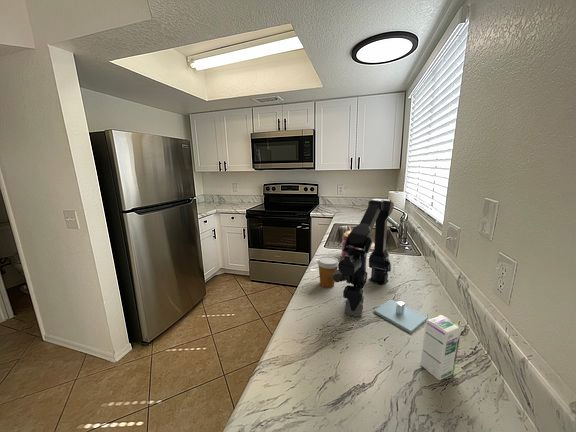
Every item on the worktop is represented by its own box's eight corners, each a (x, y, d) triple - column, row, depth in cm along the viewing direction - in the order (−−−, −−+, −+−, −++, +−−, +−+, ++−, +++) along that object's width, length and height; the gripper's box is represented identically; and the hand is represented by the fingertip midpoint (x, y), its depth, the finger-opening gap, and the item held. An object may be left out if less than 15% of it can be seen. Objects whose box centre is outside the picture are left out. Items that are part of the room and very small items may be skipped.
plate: (373, 312, 89) (373, 309, 89) (391, 301, 96) (391, 299, 96) (410, 333, 78) (411, 330, 78) (427, 319, 85) (428, 317, 85)
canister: (360, 264, 131) (362, 233, 127) (337, 259, 137) (339, 229, 133) (366, 256, 142) (368, 227, 137) (345, 252, 148) (346, 224, 144)
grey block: (344, 313, 89) (345, 301, 88) (347, 304, 94) (348, 293, 93) (361, 317, 86) (362, 305, 85) (363, 308, 92) (364, 296, 91)
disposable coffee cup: (339, 281, 112) (341, 257, 109) (334, 291, 103) (336, 266, 101) (320, 277, 116) (321, 254, 113) (313, 286, 107) (314, 262, 105)
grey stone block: (395, 312, 87) (396, 303, 87) (398, 310, 89) (400, 300, 88) (400, 315, 86) (401, 305, 85) (403, 312, 87) (405, 303, 87)
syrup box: (439, 381, 61) (448, 333, 58) (419, 364, 67) (426, 318, 63) (454, 373, 64) (463, 326, 60) (433, 357, 69) (440, 313, 66)
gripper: (340, 253, 98) (338, 287, 101) (329, 272, 81) (327, 312, 85) (368, 257, 93) (365, 293, 97) (363, 278, 77) (360, 320, 80)
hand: (354, 303), depth 90 cm, fingers open, 9 cm apart
